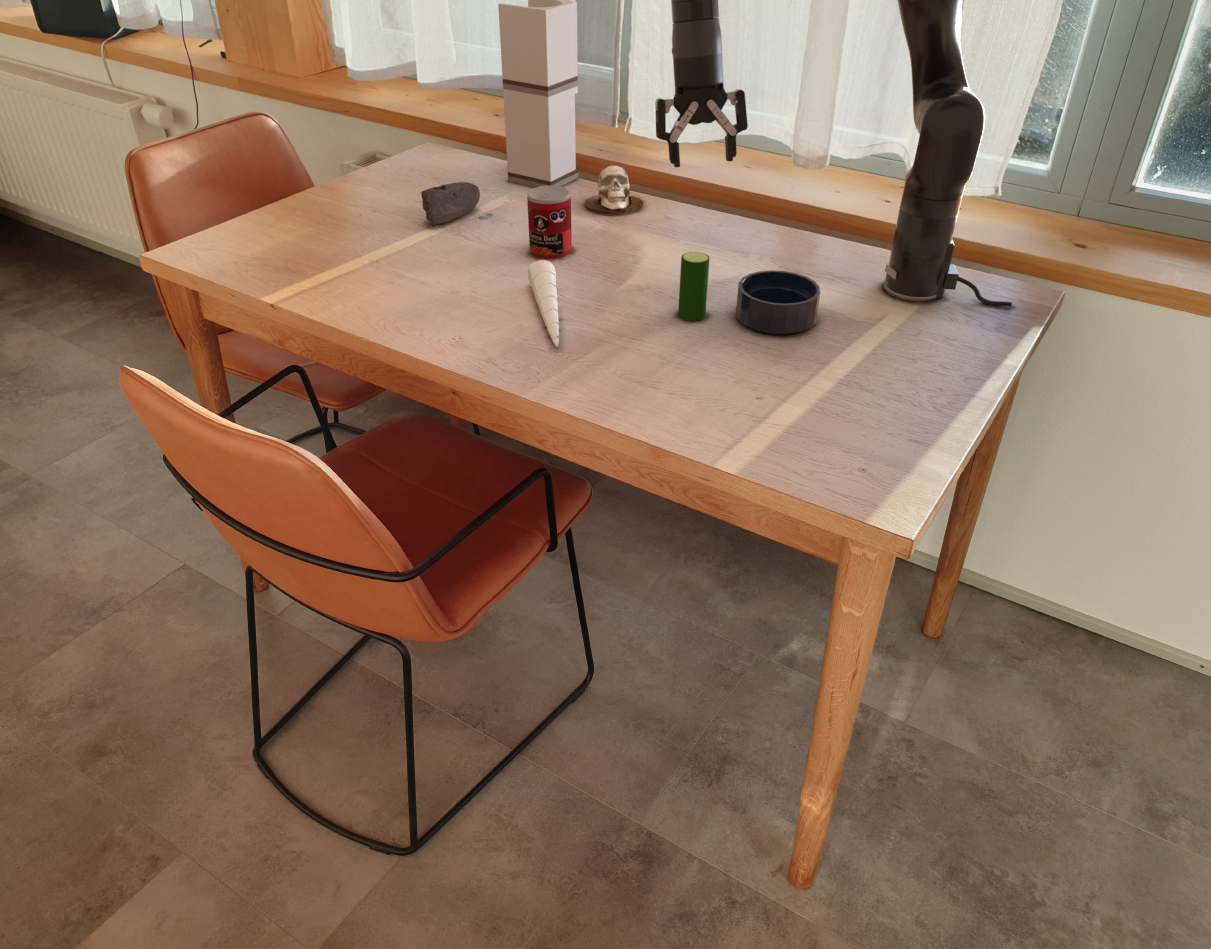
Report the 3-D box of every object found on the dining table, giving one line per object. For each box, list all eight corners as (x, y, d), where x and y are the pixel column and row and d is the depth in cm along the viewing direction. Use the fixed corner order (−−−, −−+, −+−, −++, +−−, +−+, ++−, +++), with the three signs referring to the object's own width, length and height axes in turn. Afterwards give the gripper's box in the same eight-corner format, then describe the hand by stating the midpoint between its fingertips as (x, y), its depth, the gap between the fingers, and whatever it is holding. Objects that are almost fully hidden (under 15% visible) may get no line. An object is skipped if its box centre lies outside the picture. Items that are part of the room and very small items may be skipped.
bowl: (813, 303, 156) (817, 272, 153) (818, 339, 146) (823, 307, 142) (735, 299, 157) (738, 268, 154) (735, 334, 147) (738, 302, 143)
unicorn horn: (532, 350, 142) (531, 322, 139) (528, 285, 161) (527, 258, 158) (563, 349, 142) (562, 321, 140) (555, 284, 162) (555, 257, 159)
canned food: (522, 255, 171) (519, 196, 165) (541, 240, 177) (539, 182, 171) (560, 262, 169) (559, 202, 162) (578, 246, 175) (577, 188, 168)
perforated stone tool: (472, 204, 192) (469, 171, 188) (489, 210, 189) (487, 176, 185) (415, 225, 183) (411, 190, 179) (432, 231, 180) (429, 196, 176)
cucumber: (705, 310, 154) (710, 252, 148) (704, 322, 150) (709, 263, 144) (678, 308, 154) (682, 250, 148) (677, 320, 150) (680, 261, 145)
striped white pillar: (578, 177, 206) (576, 1, 185) (551, 191, 199) (545, 10, 178) (536, 167, 211) (530, -4, 190) (508, 181, 204) (498, 4, 183)
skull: (650, 210, 187) (616, 173, 182) (611, 243, 191) (577, 207, 186) (647, 187, 196) (614, 151, 191) (610, 219, 200) (577, 185, 196)
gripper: (654, 58, 139) (663, 171, 146) (749, 48, 140) (752, 161, 147) (648, 58, 146) (656, 166, 153) (737, 48, 147) (741, 156, 153)
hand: (703, 163), depth 150 cm, fingers open, 8 cm apart
